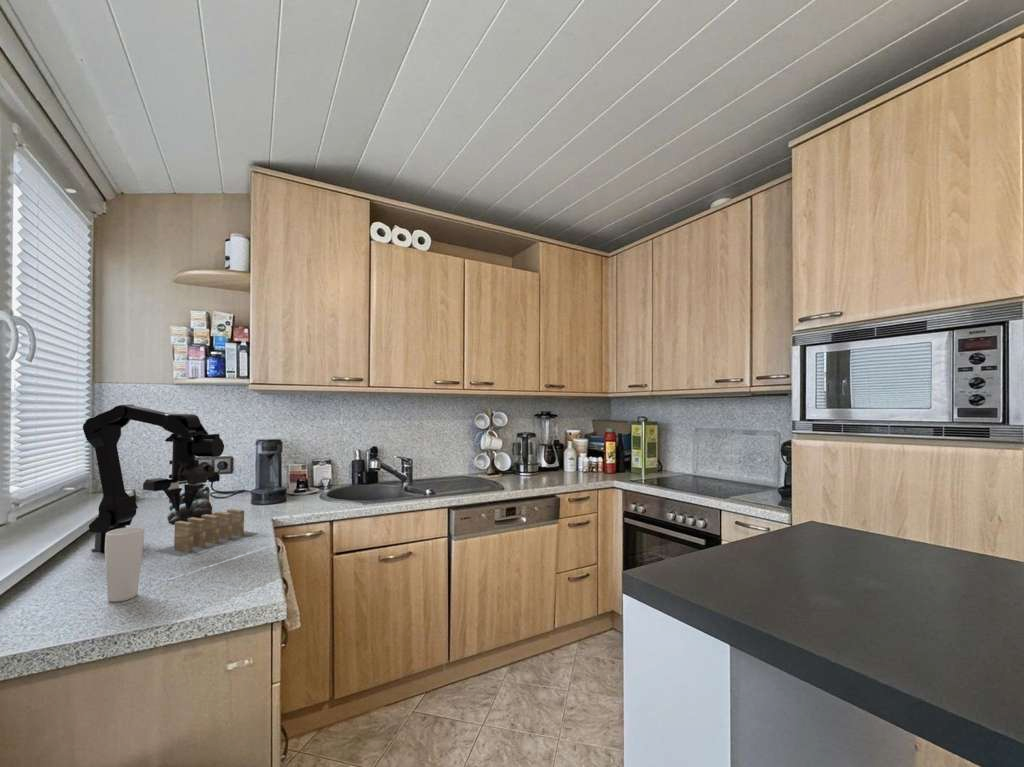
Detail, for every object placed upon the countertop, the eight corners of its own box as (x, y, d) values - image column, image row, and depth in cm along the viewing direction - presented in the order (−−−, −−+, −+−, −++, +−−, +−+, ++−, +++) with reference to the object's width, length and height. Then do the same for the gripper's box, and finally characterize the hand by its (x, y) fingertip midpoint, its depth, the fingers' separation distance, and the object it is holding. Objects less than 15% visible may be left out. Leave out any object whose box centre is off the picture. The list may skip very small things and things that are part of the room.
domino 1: (187, 552, 136) (187, 524, 136) (174, 549, 138) (174, 522, 139) (192, 550, 137) (193, 522, 138) (179, 547, 140) (180, 520, 140)
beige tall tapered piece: (109, 607, 101) (112, 536, 101) (97, 599, 105) (100, 531, 105) (147, 596, 107) (149, 529, 107) (134, 589, 110) (136, 525, 111)
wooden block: (226, 539, 148) (227, 514, 148) (214, 537, 150) (214, 512, 151) (231, 538, 149) (232, 513, 150) (218, 536, 152) (219, 511, 152)
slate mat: (180, 557, 132) (180, 556, 132) (154, 552, 137) (154, 550, 137) (259, 534, 155) (259, 533, 155) (234, 530, 160) (234, 529, 160)
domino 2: (199, 547, 140) (200, 520, 140) (186, 545, 143) (187, 518, 143) (205, 546, 142) (205, 519, 142) (192, 543, 144) (193, 517, 144)
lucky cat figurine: (158, 525, 166) (157, 487, 171) (178, 530, 177) (176, 494, 182) (203, 511, 169) (200, 474, 174) (220, 516, 180) (217, 482, 185)
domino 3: (213, 543, 144) (214, 517, 144) (200, 541, 146) (201, 515, 147) (218, 542, 145) (219, 516, 146) (205, 539, 148) (206, 514, 148)
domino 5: (239, 536, 152) (239, 511, 152) (226, 534, 154) (227, 509, 154) (243, 535, 153) (244, 510, 153) (231, 532, 156) (231, 508, 156)
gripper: (167, 462, 127) (165, 520, 127) (232, 454, 144) (231, 506, 144) (142, 459, 132) (140, 516, 131) (208, 453, 149) (207, 502, 148)
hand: (182, 510), depth 139 cm, fingers open, 3 cm apart
